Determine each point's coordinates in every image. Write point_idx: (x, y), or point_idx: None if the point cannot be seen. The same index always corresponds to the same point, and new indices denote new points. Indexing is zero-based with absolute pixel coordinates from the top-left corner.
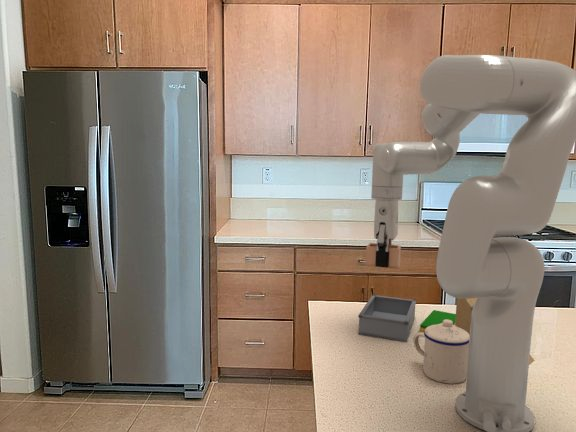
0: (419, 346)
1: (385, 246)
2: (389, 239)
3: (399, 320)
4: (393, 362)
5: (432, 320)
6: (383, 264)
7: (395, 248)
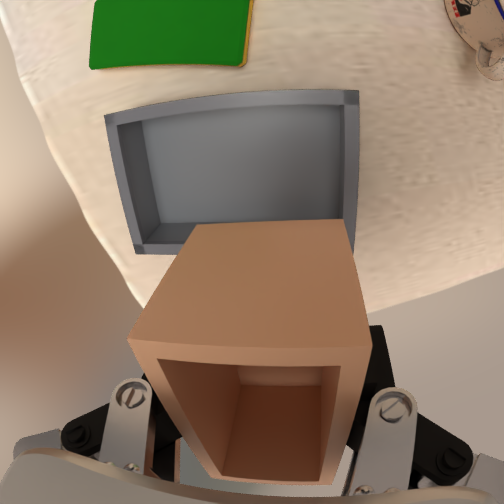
0: (480, 62)
1: (416, 446)
2: (152, 458)
3: (352, 123)
4: (475, 121)
5: (181, 40)
6: (378, 326)
7: (345, 377)
